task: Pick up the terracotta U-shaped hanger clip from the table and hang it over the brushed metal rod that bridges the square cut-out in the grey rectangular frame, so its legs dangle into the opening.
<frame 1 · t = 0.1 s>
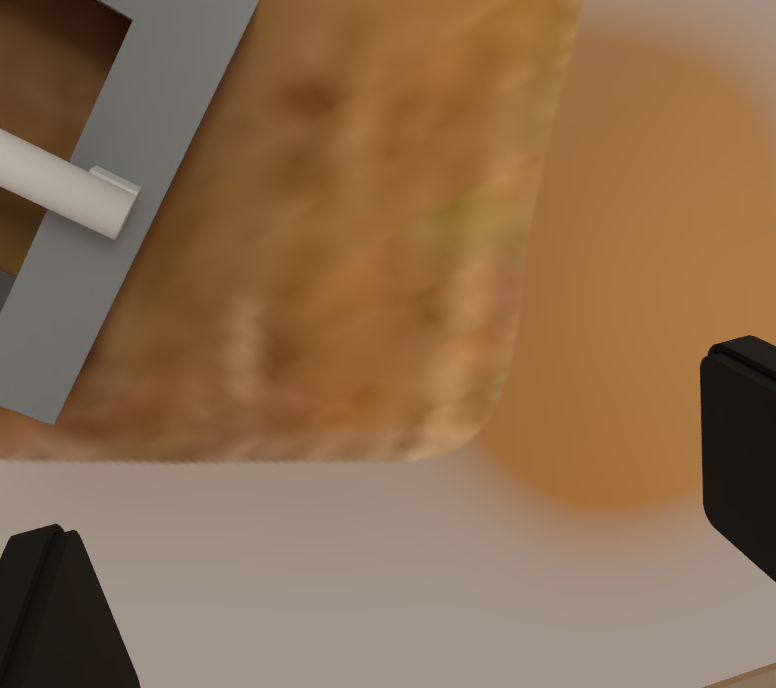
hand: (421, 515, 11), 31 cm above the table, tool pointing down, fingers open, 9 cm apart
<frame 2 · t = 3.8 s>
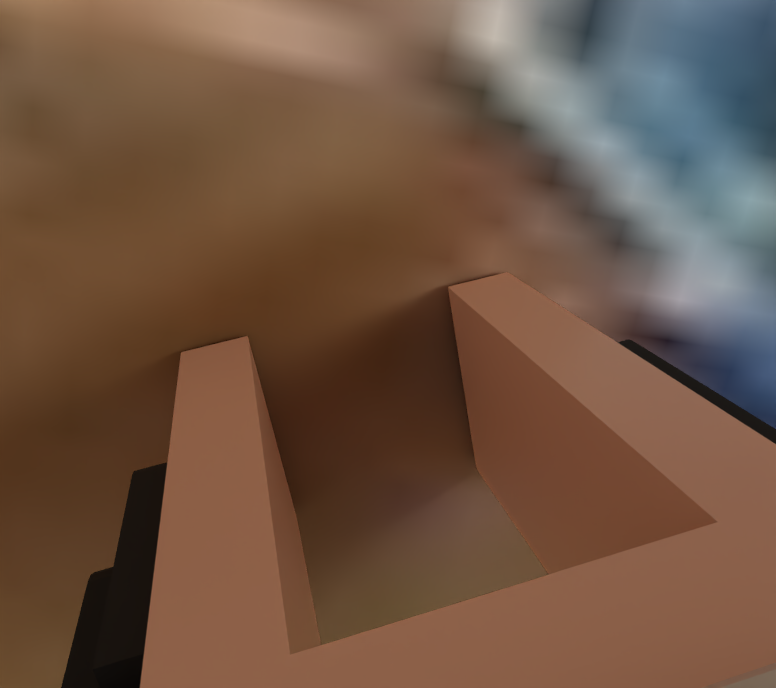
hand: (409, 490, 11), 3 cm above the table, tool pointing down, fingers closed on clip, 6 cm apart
clip: (370, 406, 14), on the table, touching gripper
when the fingers open (6 cm above the table, at t = 10.1 s): clip drops 1 cm, resting on grey rectangular frame.
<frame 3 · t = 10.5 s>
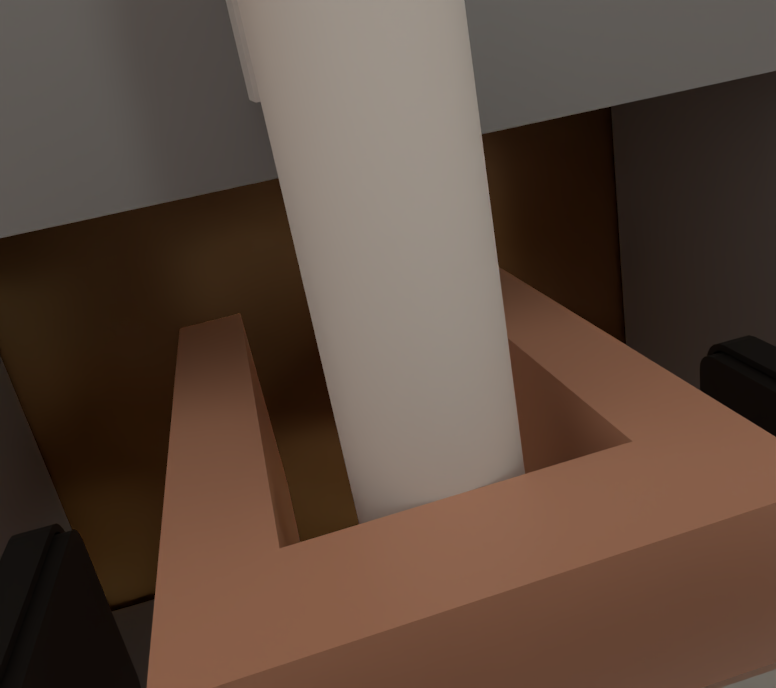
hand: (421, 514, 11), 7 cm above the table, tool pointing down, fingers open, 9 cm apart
grey rectangular frame: (344, 354, 17), on the table
clip: (353, 378, 15), point 1 cm above the table, touching grey rectangular frame
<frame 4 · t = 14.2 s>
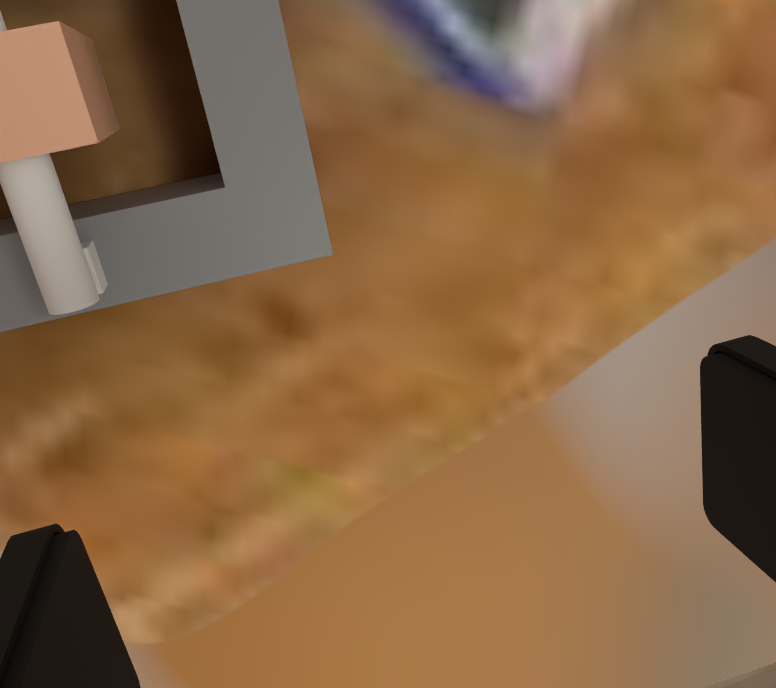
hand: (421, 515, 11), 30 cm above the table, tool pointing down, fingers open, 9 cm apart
grey rectangular frame: (49, 97, 35), on the table
clip: (36, 98, 33), point 2 cm above the table, touching grey rectangular frame
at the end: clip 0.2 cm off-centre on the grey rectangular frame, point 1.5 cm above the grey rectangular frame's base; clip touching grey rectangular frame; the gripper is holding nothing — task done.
